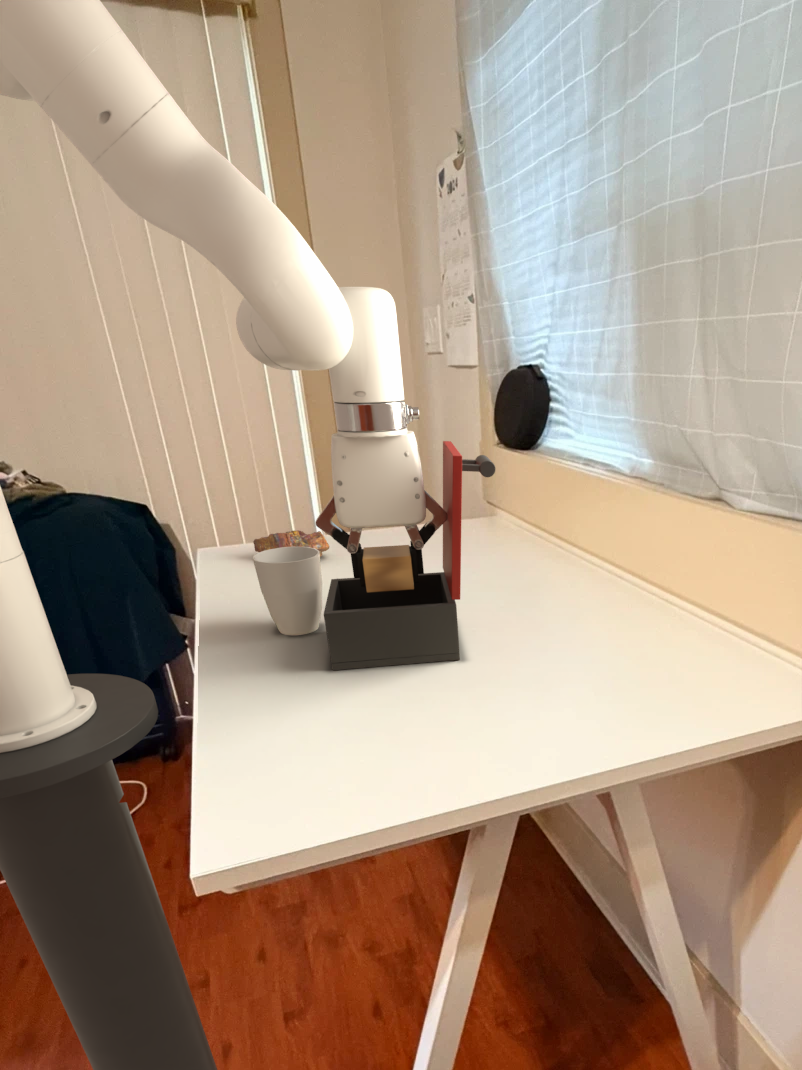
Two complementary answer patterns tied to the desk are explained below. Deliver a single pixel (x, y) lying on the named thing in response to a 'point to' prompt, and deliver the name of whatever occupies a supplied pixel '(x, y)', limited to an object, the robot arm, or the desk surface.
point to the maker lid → (456, 509)
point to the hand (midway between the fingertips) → (389, 580)
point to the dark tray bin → (391, 624)
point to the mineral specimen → (292, 541)
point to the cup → (291, 587)
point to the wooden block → (387, 568)
